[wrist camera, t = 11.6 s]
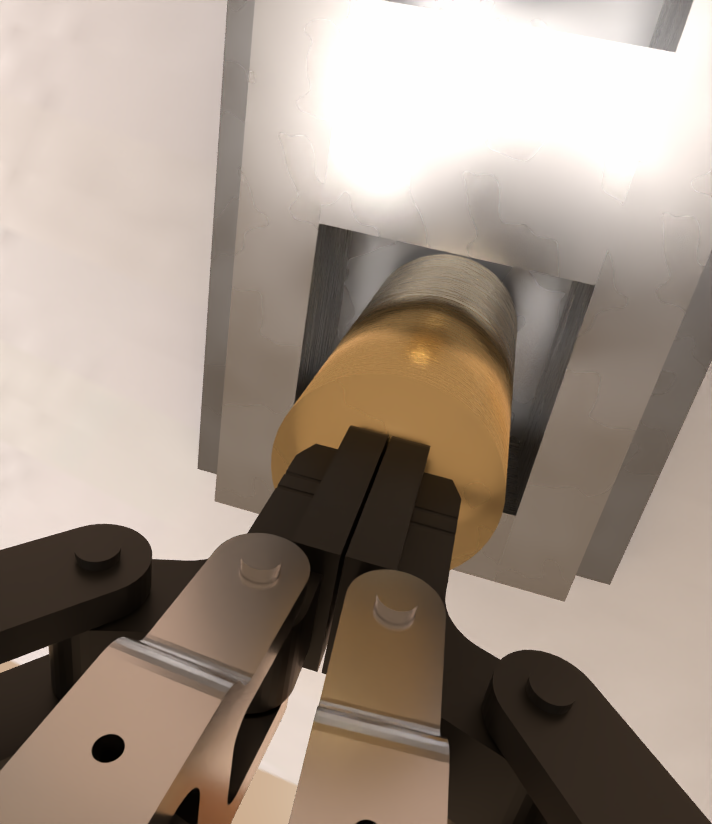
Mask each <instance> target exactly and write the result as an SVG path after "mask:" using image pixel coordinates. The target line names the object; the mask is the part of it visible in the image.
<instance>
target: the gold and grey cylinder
mask: <svg viewBox="0 0 712 824" xmlns="http://www.w3.org/2000/svg"><path fill="white" fill-rule="evenodd" d="M516 339H517V315H516V310H515V306H514V303H513V301H512V298H511V296H510V294H509V292H508V290H507V289H506V287H505V286H504V285H503V283H502V282H501V281H500V280H499V279H498V277H497V276H496V275H495V274H494V273H492V272H491V271H490V270H489V269H487V268H486V267H484V266H483V265H481V264H479V263H478V262H475V261H473V260H471V259H468V258H465V257H461V256H457V255H451V254H435V255H427V256H423V257H419V258H417V259H414V260H412V261H410V262H408V263H406V264H404V265H402V266H401V267H400V268H398V269H397V270H396V271H394V272H393V273H392V274H391V275H390V276H389V277H388V278H387V279H386V281H385V282H384V283H383V285H382V286H381V287H380V289H379V290H378V291H377V293H376V294H375V295H374V297H373V298H372V299H371V301H370V302H369V304H368V305H367V306H366V308H365V309H364V310H363V312H362V313H361V314H360V316H359V317H358V319H357V320H356V321H355V323H354V324H353V325H352V327H351V328H350V329H349V331H348V332H347V333H346V335H345V336H344V338H343V339H342V340H341V342H340V343H339V344H338V346H337V347H336V348H335V350H334V351H333V352H332V354H331V355H330V357H329V358H328V359H327V361H326V362H325V363H324V365H323V366H322V367H321V369H320V370H319V372H318V373H317V374H316V376H315V377H314V378H313V380H312V381H311V382H310V384H309V385H308V386H307V388H306V389H305V391H304V392H303V393H302V395H301V396H300V397H299V399H298V400H297V401H296V403H295V404H294V406H293V407H292V408H291V410H290V411H289V412H288V414H287V415H286V416H285V418H284V420H283V422H282V423H281V425H280V427H279V429H278V431H277V434H276V437H275V440H274V444H273V449H272V454H271V472H272V481H273V485H274V489H275V488H277V486H278V483H279V482H280V480H281V478H282V477H283V475H284V474H286V470H287V469H288V467H289V466H290V464H291V462H292V461H293V459H294V457H295V456H296V454H298V453H300V452H302V451H303V450H305V449H307V448H309V447H311V446H312V445H314V444H320V445H324V446H327V447H331V448H335V449H338V448H339V446H340V444H341V442H342V440H343V438H344V436H345V434H346V432H347V430H348V429H349V427H350V426H351V425H353V426H357V427H360V428H364V429H368V430H372V431H376V432H379V433H383V434H387V435H389V442H390V440H391V437H392V436H395V437H399V438H403V439H407V440H411V441H414V442H418V443H422V444H426V445H430V446H431V447H430V451H429V455H428V459H427V463H426V467H425V471H424V472H425V473H429V474H433V475H437V476H440V477H444V478H448V479H452V480H453V482H454V484H455V486H456V488H457V491H458V493H459V495H460V497H461V505H460V511H459V517H458V523H457V529H456V534H455V541H454V547H453V553H452V559H451V565H450V570H451V569H453V568H456V567H458V566H460V565H461V564H463V563H464V562H466V561H467V560H469V559H471V558H472V557H473V556H474V555H475V554H476V553H478V552H479V551H480V550H481V549H482V548H483V547H484V545H485V544H486V543H487V542H488V541H489V540H490V538H491V536H492V535H493V533H494V531H495V530H496V528H497V526H498V523H499V521H500V519H501V516H502V512H503V508H504V504H505V493H506V480H507V466H508V452H509V437H510V423H511V409H512V395H513V381H514V367H515V353H516ZM389 442H388V445H389Z"/></svg>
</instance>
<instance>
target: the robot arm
mask: <svg viewBox="0 0 712 824" xmlns="http://www.w3.org/2000/svg"><path fill="white" fill-rule="evenodd" d="M388 442H389V435H387V434H383V433H379V432H376V431H372V430H368V429H364V428H360V427H357V426H353V425H351V426H350V427H349V429H348V430H347V432H346V434H345V436H344V438H343V440H342V442H341V444H340V446H339V448H338V449H335V448H331V447H327V446H324V445H320V444H314V445H312V446H311V447H309V448H307V449H305V450H303V451H302V452H300V453H298V454H296V456H295V457H294V459H293V461H292V462H291V464H290V466H289V467H288V469H287V470H286V474H284V475H283V477H282V478H281V480H280V482H279V483H278V486H277V488H275V490H274V491H273V493H272V495H271V496H270V498H269V499H268V501H267V503H266V504H265V506H264V507H263V509H262V511H261V512H260V514H259V516H258V517H257V519H256V520H255V522H254V524H253V525H252V527H251V528H250V530H249V532H248V533H247V534H243V535H239V536H236V537H233V538H231V539H229V540H227V541H225V542H224V543H222V544H221V545H220V546H219V547H218V548H217V549H216V550H215V551H214V553H213V554H212V555H211V556H210V557H209V559H205V560H196V561H181V560H158V559H152V550H151V546H150V544H149V543H148V541H147V540H146V539H145V538H144V537H143V536H142V535H141V534H139V533H138V532H136V531H134V530H132V529H130V528H127V527H124V526H119V525H113V524H95V525H88V526H83V527H79V528H76V529H72V530H69V531H65V532H62V533H58V534H55V535H51V536H48V537H44V538H41V539H37V540H34V541H31V542H27V543H24V544H20V545H17V546H13V547H10V548H6V549H3V550H0V664H2V663H5V662H7V661H10V660H13V659H15V658H18V657H20V656H23V655H26V654H28V653H31V652H34V651H36V650H39V649H41V648H44V647H47V646H49V654H48V655H46V656H43V657H40V658H38V659H35V660H33V661H30V662H28V663H25V664H22V665H20V666H18V667H15V668H12V669H10V670H7V671H4V672H2V673H0V824H231V822H232V820H233V818H234V816H235V814H236V811H237V809H238V807H239V805H240V803H241V801H242V799H243V797H244V795H245V793H246V791H247V789H248V787H249V785H250V783H251V781H252V779H253V776H254V774H255V773H256V770H257V769H258V767H259V764H260V762H261V760H262V758H263V756H264V754H265V752H266V750H267V748H268V746H269V744H270V742H271V740H272V738H273V736H274V734H275V732H276V730H277V728H278V726H279V723H280V721H281V719H282V717H283V715H284V713H285V710H286V708H287V703H288V697H289V696H290V694H291V693H292V691H293V689H294V686H295V684H296V681H297V679H298V676H299V673H300V671H301V668H302V667H303V668H307V669H310V670H313V671H316V672H318V669H319V666H320V663H321V660H322V658H323V655H324V652H325V649H326V646H327V649H326V654H325V659H324V664H323V669H322V673H324V674H326V678H325V682H324V686H323V690H322V695H321V699H320V703H319V706H318V707H317V710H316V714H315V718H314V722H313V726H312V730H311V734H310V738H309V742H308V746H307V750H306V754H305V758H304V763H303V767H302V771H301V775H300V779H299V783H298V787H297V791H296V795H295V799H294V804H293V808H292V812H291V816H290V820H289V824H712V823H711V822H710V821H709V820H708V819H707V817H706V816H705V815H704V814H703V813H702V812H701V810H700V809H699V808H698V807H697V806H696V804H695V803H694V802H693V801H692V800H691V799H690V797H689V796H688V795H687V794H686V793H685V792H684V790H683V789H682V788H681V787H680V786H679V784H678V783H677V782H676V781H675V780H674V779H673V777H672V776H671V775H670V774H669V773H668V771H667V770H666V769H665V768H664V767H663V766H662V764H661V763H660V762H659V761H658V760H657V758H656V757H655V756H654V755H653V754H652V753H651V751H650V750H649V749H648V748H647V747H646V746H645V744H644V743H643V742H642V741H641V740H640V738H639V737H638V736H637V735H636V734H635V733H634V731H633V730H632V729H631V728H630V727H629V725H628V724H627V723H626V722H625V721H624V720H623V718H622V717H621V716H620V715H619V714H618V713H617V711H616V710H615V709H614V708H613V707H612V705H611V704H610V703H609V702H608V701H607V700H606V698H605V697H604V696H603V695H602V694H601V692H600V691H599V690H598V689H597V688H596V687H595V685H594V684H593V683H592V682H591V681H590V680H589V679H588V678H587V677H586V675H585V674H584V673H582V672H581V671H580V670H579V669H578V668H576V667H575V666H573V665H572V664H570V663H569V662H567V661H565V660H564V659H562V658H560V657H558V656H555V655H552V654H550V653H546V652H542V651H536V650H521V651H516V652H513V653H510V654H508V655H506V656H505V657H503V658H502V659H501V660H500V659H498V658H496V657H495V656H493V655H491V654H490V653H488V652H486V651H485V650H483V649H481V648H480V647H478V646H476V645H475V644H473V643H472V642H471V641H470V640H468V639H467V638H466V637H465V636H464V635H463V634H462V633H461V632H460V631H459V630H458V629H457V628H456V626H455V625H454V624H453V622H452V620H451V619H450V617H449V615H448V612H447V609H446V604H445V595H446V589H447V583H448V577H449V571H450V565H451V559H452V553H453V547H454V541H455V534H456V529H457V523H458V517H459V511H460V505H461V497H460V495H459V493H458V491H457V488H456V486H455V484H454V482H453V480H452V479H448V478H444V477H440V476H437V475H433V474H429V473H425V472H424V471H425V467H426V463H427V459H428V455H429V451H430V447H431V446H430V445H426V444H422V443H418V442H414V441H411V440H407V439H403V438H399V437H395V436H392V437H391V440H390V442H389V445H388Z"/></svg>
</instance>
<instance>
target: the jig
mask: <svg viewBox="0 0 712 824" xmlns="http://www.w3.org/2000/svg"><path fill="white" fill-rule="evenodd" d="M435 254H451V255H457V256H461V257H465V258H468V259H471V260H473V261H475V262H478V263H479V264H481V265H483V266H484V267H486V268H487V269H489V270H490V271H491V272H492V273H494V274H495V275H496V276H497V277H498V279H499V280H500V281H501V282H502V283H503V285H504V286H505V287H506V289H507V290H508V292H509V294H510V296H511V298H512V301H513V303H514V306H515V310H516V315H517V339H516V353H515V367H514V381H513V395H512V409H511V423H510V437H509V452H508V466H507V480H506V493H505V504H504V508H503V512H502V516H501V519H500V521H499V523H498V526H497V528H496V530H495V531H494V533H493V535H492V536H491V538H490V540H489V541H488V542H487V543H486V544H485V545H484V547H483V548H482V549H481V550H480V551H479V552H478V553H476V554H475V555H474V556H473V557H472V558H471V559H469V560H467V561H466V562H464V563H463V564H461V565H460V566H458V567H456V568H453V570H456V571H460V572H463V573H467V574H470V575H474V576H477V577H481V578H484V579H488V580H491V581H495V582H498V583H502V584H505V585H509V586H512V587H516V588H519V589H523V590H526V591H530V592H533V593H537V594H540V595H543V596H547V597H550V598H554V599H557V600H561V601H564V602H565V599H566V597H567V595H568V592H569V590H570V587H571V585H572V583H573V580H574V578H575V575H577V576H581V577H584V578H588V579H591V580H595V581H598V582H602V583H605V584H609V585H610V583H611V581H612V579H613V577H614V574H615V572H616V570H617V568H618V566H619V563H620V561H621V559H622V557H623V555H624V552H625V550H626V548H627V546H628V544H629V541H630V539H631V537H632V535H633V533H634V530H635V528H636V526H637V524H638V522H639V519H640V517H641V515H642V513H643V511H644V508H645V506H646V504H647V502H648V500H649V497H650V495H651V493H652V491H653V489H654V486H655V484H656V482H657V480H658V478H659V475H660V473H661V471H662V469H663V467H664V464H665V462H666V460H667V458H668V456H669V453H670V451H671V449H672V447H673V445H674V442H675V440H676V438H677V436H678V434H679V431H680V429H681V427H682V425H683V423H684V420H685V418H686V416H687V414H688V412H689V409H690V407H691V405H692V403H693V400H694V398H695V396H696V394H697V392H698V389H699V387H700V385H701V383H702V381H703V378H704V376H705V374H706V372H707V370H708V367H709V365H710V363H711V361H712V0H228V1H227V17H226V33H225V48H224V64H223V80H222V95H221V111H220V127H219V142H218V158H217V174H216V189H215V205H214V221H213V236H212V252H211V267H210V283H209V299H208V314H207V330H206V346H205V361H204V377H203V393H202V408H201V424H200V440H199V455H198V469H200V470H204V471H207V472H211V473H214V474H217V479H216V491H215V501H216V502H219V503H223V504H226V505H230V506H233V507H237V508H240V509H244V510H247V511H251V512H254V513H258V514H260V512H261V511H262V509H263V507H264V506H265V504H266V503H267V501H268V499H269V498H270V496H271V495H272V493H273V491H274V490H275V489H274V485H273V481H272V472H271V454H272V449H273V444H274V440H275V437H276V434H277V431H278V429H279V427H280V425H281V423H282V422H283V420H284V418H285V416H286V415H287V414H288V412H289V411H290V410H291V408H292V407H293V406H294V404H295V403H296V401H297V400H298V399H299V397H300V396H301V395H302V393H303V392H304V391H305V389H306V388H307V386H308V385H309V384H310V382H311V381H312V380H313V378H314V377H315V376H316V374H317V373H318V372H319V370H320V369H321V367H322V366H323V365H324V363H325V362H326V361H327V359H328V358H329V357H330V355H331V354H332V352H333V351H334V350H335V348H336V347H337V346H338V344H339V343H340V342H341V340H342V339H343V338H344V336H345V335H346V333H347V332H348V331H349V329H350V328H351V327H352V325H353V324H354V323H355V321H356V320H357V319H358V317H359V316H360V314H361V313H362V312H363V310H364V309H365V308H366V306H367V305H368V304H369V302H370V301H371V299H372V298H373V297H374V295H375V294H376V293H377V291H378V290H379V289H380V287H381V286H382V285H383V283H384V282H385V281H386V279H387V278H388V277H389V276H390V275H391V274H392V273H393V272H394V271H396V270H397V269H398V268H400V267H401V266H402V265H404V264H406V263H408V262H410V261H412V260H414V259H417V258H419V257H423V256H427V255H435Z"/></svg>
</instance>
